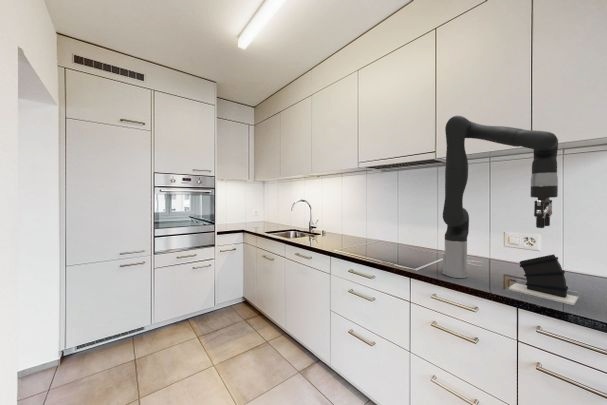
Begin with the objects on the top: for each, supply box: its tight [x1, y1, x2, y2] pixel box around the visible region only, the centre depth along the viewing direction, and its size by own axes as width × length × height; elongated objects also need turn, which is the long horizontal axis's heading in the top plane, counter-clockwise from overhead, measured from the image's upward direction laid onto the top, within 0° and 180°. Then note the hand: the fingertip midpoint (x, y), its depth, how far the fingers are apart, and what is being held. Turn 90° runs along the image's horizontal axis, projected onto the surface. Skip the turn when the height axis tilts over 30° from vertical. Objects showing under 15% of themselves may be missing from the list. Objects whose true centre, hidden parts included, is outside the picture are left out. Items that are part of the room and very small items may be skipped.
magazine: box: [519, 254, 569, 298], centre depth 95 cm, size 4×13×15 cm, turn 35°
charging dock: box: [508, 278, 580, 306], centre depth 96 cm, size 18×10×2 cm, turn 35°
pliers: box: [467, 259, 485, 267], centre depth 141 cm, size 10×2×15 cm
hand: (543, 226), depth 95 cm, fingers open, 8 cm apart
